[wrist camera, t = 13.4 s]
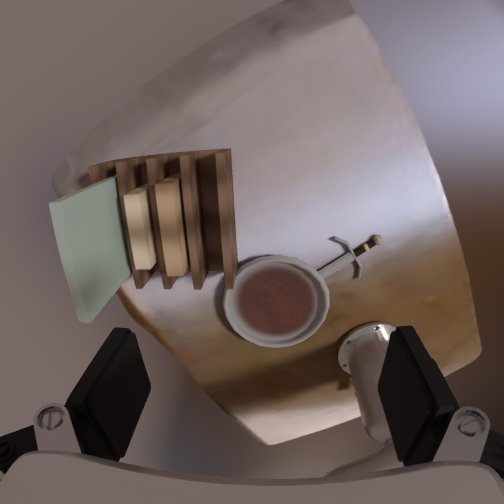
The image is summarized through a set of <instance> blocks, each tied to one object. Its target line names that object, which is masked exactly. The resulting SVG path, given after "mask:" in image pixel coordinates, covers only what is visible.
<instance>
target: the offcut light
mask: <svg viewBox="0 0 504 504" xmlns="http://www.w3.org/2000/svg"><path fill="white" fill-rule="evenodd" d="M123 197H124V204H125V211H126V217H127V224H128V230H129V236H130V242H131V247H132V253H133V258H134V263H135V269H151V268H152V267H153V266H154V264H155V263H156V262H157V261H158V259H159V257H158V251H157V244H156V237H155V230H154V223H153V216H152V208H151V200H150V192H149V183H146V184H144V185H142V186H140V187H138V188H136V189H135V190H133V191H131V192H129V193H127V194H125V195H123Z"/></svg>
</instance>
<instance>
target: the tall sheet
mask: <svg viewBox="0 0 504 504" xmlns="http://www.w3.org/2000/svg"><path fill="white" fill-rule="evenodd" d="M49 207H50V213H51V218H52V223H53V228H54V233H55V237H56V241H57V246H58V250H59V254H60V258H61V262H62V266H63V269H64V273H65V277H66V280H67V284H68V287H69V291H70V294H71V297H72V300H73V303H74V307H75V310H76V313H77V316H78V319H79V322H87V323H91V321H92V320H93V319H94V318H95V316H96V315H97V314H98V313H99V311H100V310H101V309H102V308H103V306H104V305H105V304H106V303H107V302H108V300H109V299H110V298H111V297H112V296H113V294H114V293H115V292H116V291H117V290H118V288H119V287H120V286H121V285H122V284H123V283H124V281H125V280H126V279H127V278H128V277H129V275H130V274H131V273H132V267H131V262H130V256H129V251H128V246H127V240H126V234H125V229H124V222H123V216H122V209H121V203H120V196H119V188H118V180H117V175H115V176H112V177H109V178H107V179H104V180H102V181H99V182H97V183H94V184H92V185H89V186H87V187H85V188H82V189H80V190H77V191H75V192H73V193H70V194H68V195H66V196H64V197H61V198H59V199H57V200H55V201H53V202H50V203H49Z"/></svg>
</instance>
